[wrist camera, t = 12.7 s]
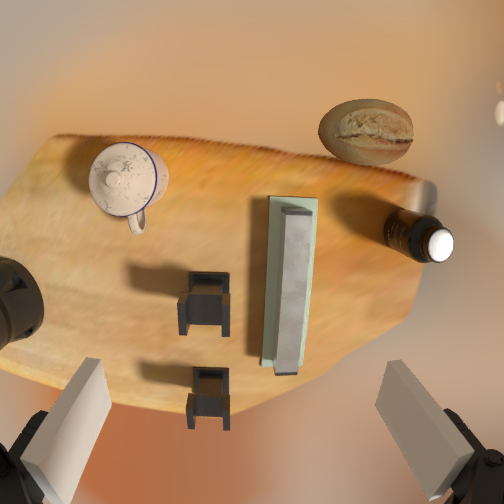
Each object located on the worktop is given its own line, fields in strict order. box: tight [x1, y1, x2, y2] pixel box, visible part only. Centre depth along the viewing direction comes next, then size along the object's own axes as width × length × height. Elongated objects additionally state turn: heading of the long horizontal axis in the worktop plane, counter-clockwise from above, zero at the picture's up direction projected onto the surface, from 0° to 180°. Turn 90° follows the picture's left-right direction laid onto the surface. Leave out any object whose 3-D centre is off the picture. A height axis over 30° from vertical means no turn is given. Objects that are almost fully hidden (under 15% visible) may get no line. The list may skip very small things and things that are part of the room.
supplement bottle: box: [384, 209, 454, 263], centre depth 42 cm, size 7×7×12 cm
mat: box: [261, 196, 318, 367], centre depth 49 cm, size 7×28×1 cm, turn 178°
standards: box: [177, 272, 230, 430], centre depth 45 cm, size 6×23×10 cm, turn 178°
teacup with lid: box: [89, 142, 169, 235], centre depth 38 cm, size 12×9×12 cm
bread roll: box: [318, 99, 413, 166], centre depth 40 cm, size 10×15×8 cm, turn 100°
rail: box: [272, 207, 313, 376], centre depth 46 cm, size 4×25×4 cm, turn 178°
